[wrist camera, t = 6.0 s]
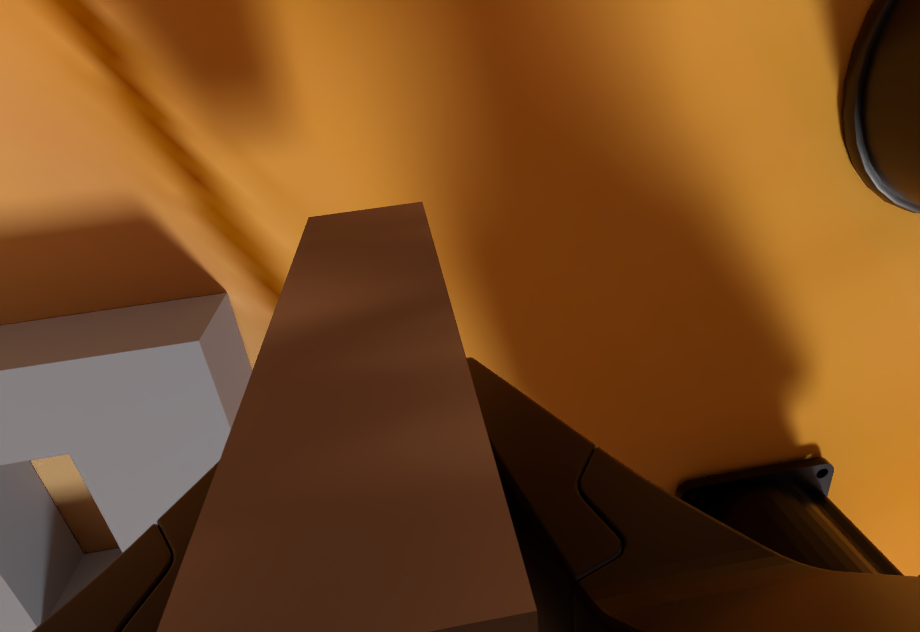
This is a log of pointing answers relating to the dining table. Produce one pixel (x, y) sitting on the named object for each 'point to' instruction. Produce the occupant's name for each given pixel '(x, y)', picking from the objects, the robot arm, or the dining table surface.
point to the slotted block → (107, 432)
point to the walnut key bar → (357, 459)
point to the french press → (886, 103)
